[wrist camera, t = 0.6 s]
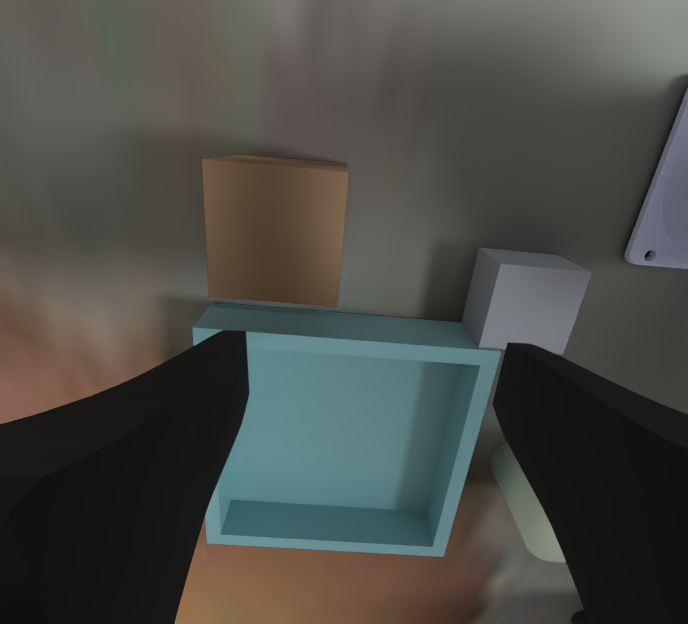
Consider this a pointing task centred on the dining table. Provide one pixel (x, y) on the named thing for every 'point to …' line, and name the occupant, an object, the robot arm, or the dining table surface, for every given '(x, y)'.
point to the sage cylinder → (525, 506)
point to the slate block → (523, 299)
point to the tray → (349, 430)
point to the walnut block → (274, 228)
